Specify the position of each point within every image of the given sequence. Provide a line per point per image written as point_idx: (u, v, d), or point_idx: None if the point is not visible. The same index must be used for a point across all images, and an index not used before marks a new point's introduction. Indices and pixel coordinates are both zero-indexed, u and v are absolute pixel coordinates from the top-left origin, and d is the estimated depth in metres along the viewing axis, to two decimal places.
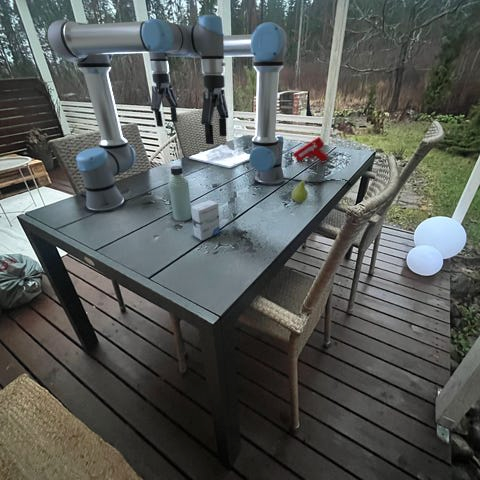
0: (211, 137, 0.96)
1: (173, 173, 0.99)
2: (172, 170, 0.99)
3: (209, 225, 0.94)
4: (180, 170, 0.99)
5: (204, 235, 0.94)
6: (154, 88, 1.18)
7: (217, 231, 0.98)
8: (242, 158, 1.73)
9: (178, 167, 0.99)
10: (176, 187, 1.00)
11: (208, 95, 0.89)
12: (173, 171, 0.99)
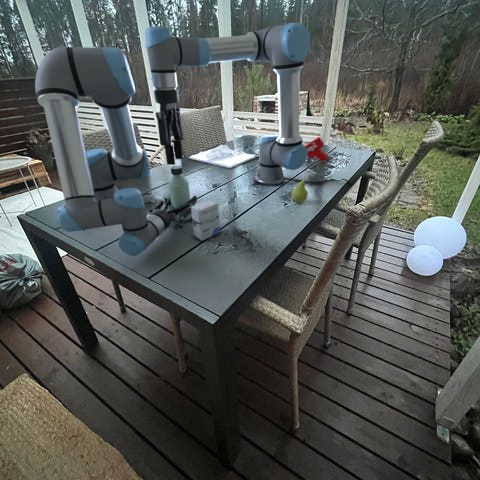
0: None
1: (173, 173, 0.99)
2: (172, 170, 0.99)
3: (209, 225, 0.94)
4: (180, 170, 0.99)
5: (204, 235, 0.94)
6: (160, 116, 0.84)
7: (217, 231, 0.98)
8: (242, 158, 1.73)
9: (178, 167, 0.99)
10: (176, 187, 1.00)
11: None
12: (173, 171, 0.99)
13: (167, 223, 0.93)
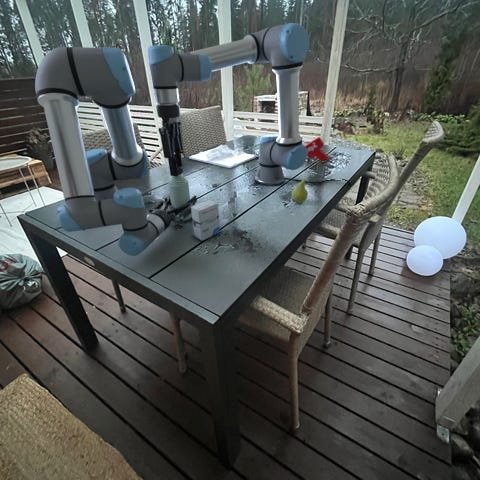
0: None
1: None
2: None
3: (209, 225, 0.94)
4: (180, 170, 0.99)
5: (204, 235, 0.94)
6: (162, 132, 0.87)
7: (217, 231, 0.98)
8: (242, 158, 1.73)
9: (178, 167, 0.99)
10: (176, 187, 1.00)
11: None
12: None
13: (167, 223, 0.93)
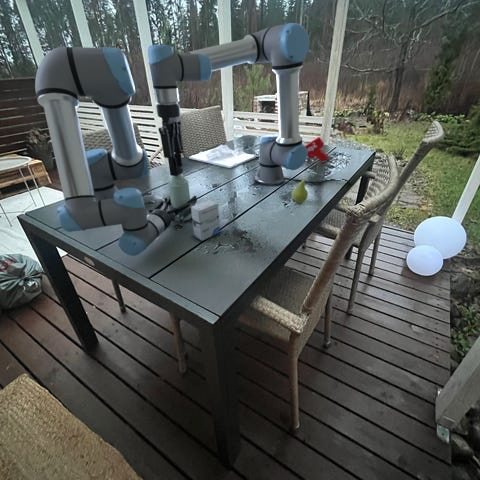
0: None
1: (181, 171, 1.00)
2: (181, 169, 0.99)
3: (209, 225, 0.94)
4: None
5: (204, 235, 0.94)
6: (162, 131, 0.87)
7: (217, 231, 0.98)
8: (242, 158, 1.73)
9: None
10: (176, 187, 1.00)
11: None
12: (181, 169, 1.00)
13: (167, 223, 0.93)
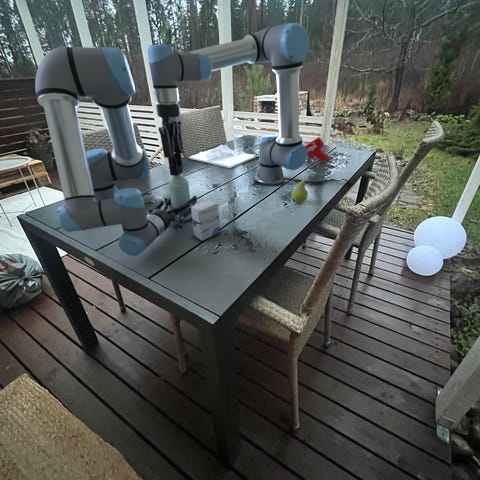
0: None
1: None
2: None
3: (209, 225, 0.94)
4: None
5: (204, 235, 0.94)
6: (163, 131, 0.87)
7: (217, 231, 0.98)
8: (242, 158, 1.73)
9: None
10: (176, 187, 1.00)
11: None
12: None
13: (167, 223, 0.93)
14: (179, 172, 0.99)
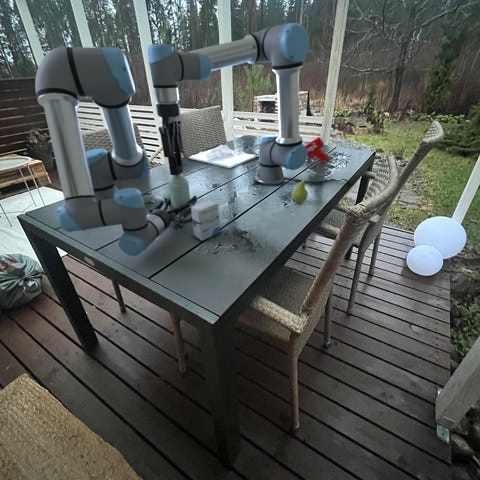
0: None
1: None
2: None
3: (209, 225, 0.94)
4: None
5: (204, 235, 0.94)
6: (163, 131, 0.87)
7: (217, 231, 0.98)
8: (242, 158, 1.73)
9: (177, 167, 0.99)
10: (176, 187, 1.00)
11: None
12: None
13: (167, 223, 0.93)
14: None
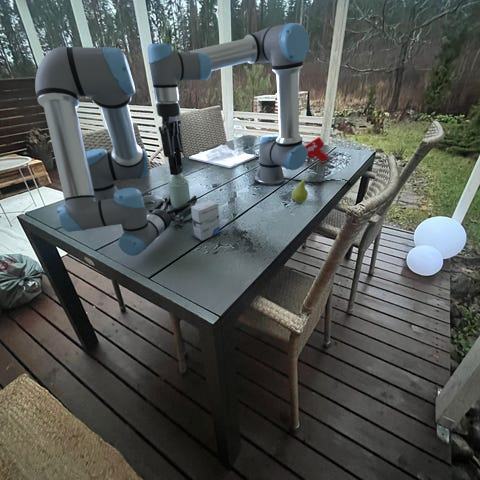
0: None
1: (178, 172, 0.99)
2: None
3: (209, 225, 0.94)
4: None
5: (204, 235, 0.94)
6: (163, 130, 0.87)
7: (217, 231, 0.98)
8: (242, 158, 1.73)
9: (178, 165, 1.00)
10: (176, 187, 1.00)
11: None
12: (178, 170, 0.99)
13: (167, 223, 0.93)
14: None
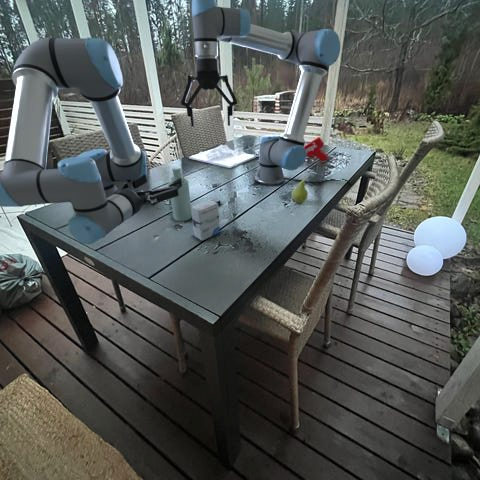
0: None
1: None
2: None
3: (209, 225, 0.94)
4: None
5: (204, 235, 0.94)
6: (227, 77, 0.94)
7: (217, 231, 0.98)
8: (242, 158, 1.73)
9: (213, 199, 1.19)
10: None
11: None
12: None
13: (136, 206, 0.76)
14: None
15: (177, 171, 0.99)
